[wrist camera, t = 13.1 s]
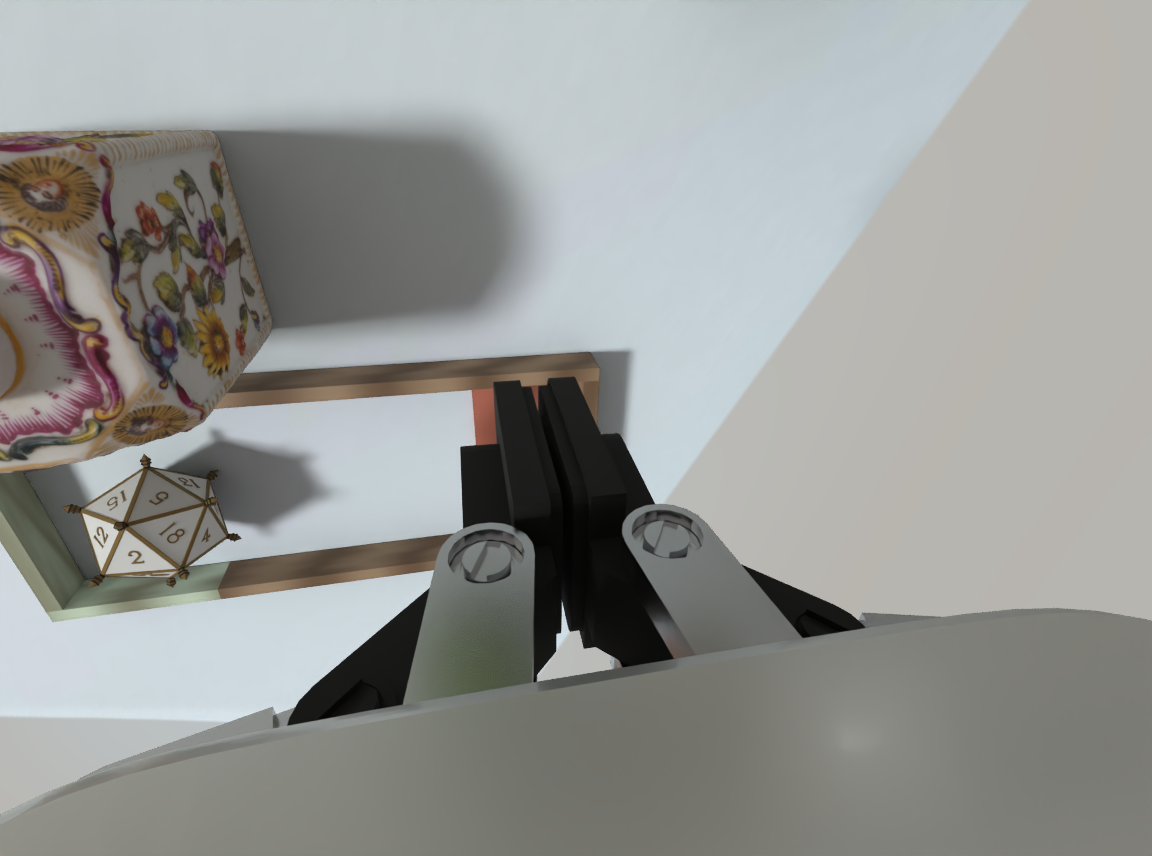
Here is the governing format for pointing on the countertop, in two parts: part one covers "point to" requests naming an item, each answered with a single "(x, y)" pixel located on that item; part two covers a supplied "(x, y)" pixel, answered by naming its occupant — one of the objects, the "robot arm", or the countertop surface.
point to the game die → (153, 524)
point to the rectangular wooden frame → (52, 574)
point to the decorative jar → (118, 291)
